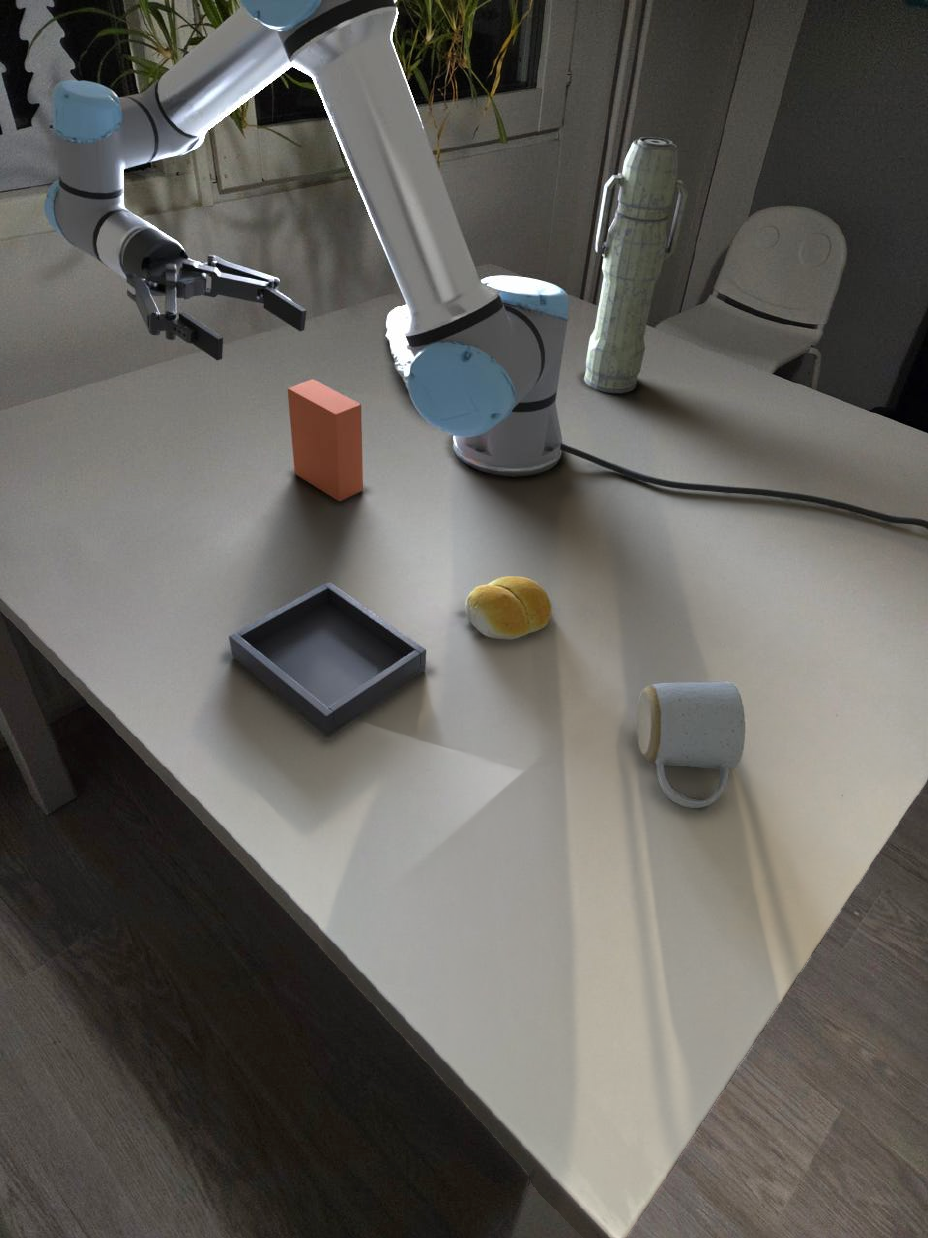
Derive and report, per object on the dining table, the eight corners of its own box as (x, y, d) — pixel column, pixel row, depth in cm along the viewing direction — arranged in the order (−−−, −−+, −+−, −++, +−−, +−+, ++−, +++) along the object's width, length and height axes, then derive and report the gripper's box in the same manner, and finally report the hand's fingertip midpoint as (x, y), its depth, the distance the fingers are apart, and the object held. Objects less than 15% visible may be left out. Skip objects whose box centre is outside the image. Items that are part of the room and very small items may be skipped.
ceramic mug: (628, 718, 79) (644, 661, 73) (712, 721, 79) (734, 665, 74) (647, 812, 71) (667, 755, 66) (740, 815, 71) (768, 759, 66)
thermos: (652, 393, 133) (708, 150, 110) (581, 393, 132) (623, 146, 109) (637, 370, 140) (687, 135, 117) (569, 369, 138) (606, 131, 115)
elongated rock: (431, 325, 152) (378, 329, 150) (430, 296, 149) (376, 300, 147) (470, 403, 125) (405, 408, 124) (470, 369, 122) (404, 374, 120)
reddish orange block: (318, 463, 110) (312, 378, 103) (363, 490, 106) (361, 404, 98) (294, 473, 108) (287, 387, 100) (339, 501, 104) (335, 414, 96)
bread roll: (563, 624, 89) (569, 595, 86) (495, 652, 85) (499, 623, 82) (518, 582, 94) (522, 553, 91) (452, 606, 90) (454, 577, 87)
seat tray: (330, 601, 89) (329, 581, 87) (425, 670, 82) (426, 649, 80) (232, 656, 82) (228, 635, 80) (327, 737, 75) (326, 716, 73)
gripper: (218, 265, 116) (330, 336, 110) (59, 305, 99) (180, 391, 93) (220, 211, 110) (337, 282, 105) (52, 244, 94) (180, 331, 88)
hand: (263, 334), depth 99 cm, fingers open, 13 cm apart
